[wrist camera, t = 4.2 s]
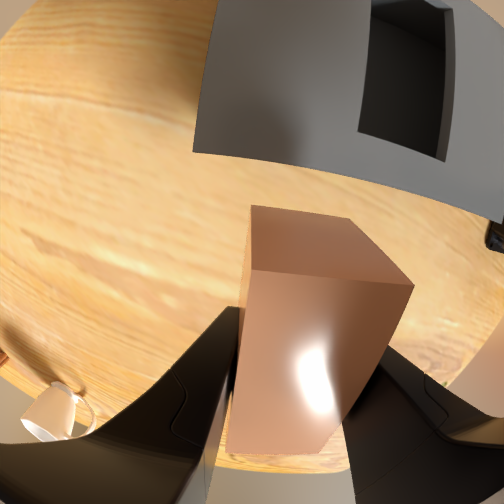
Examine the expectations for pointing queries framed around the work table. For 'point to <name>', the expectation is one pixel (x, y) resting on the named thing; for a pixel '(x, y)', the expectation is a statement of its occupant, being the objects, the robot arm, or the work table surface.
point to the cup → (55, 414)
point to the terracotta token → (307, 329)
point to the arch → (3, 358)
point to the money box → (362, 93)
